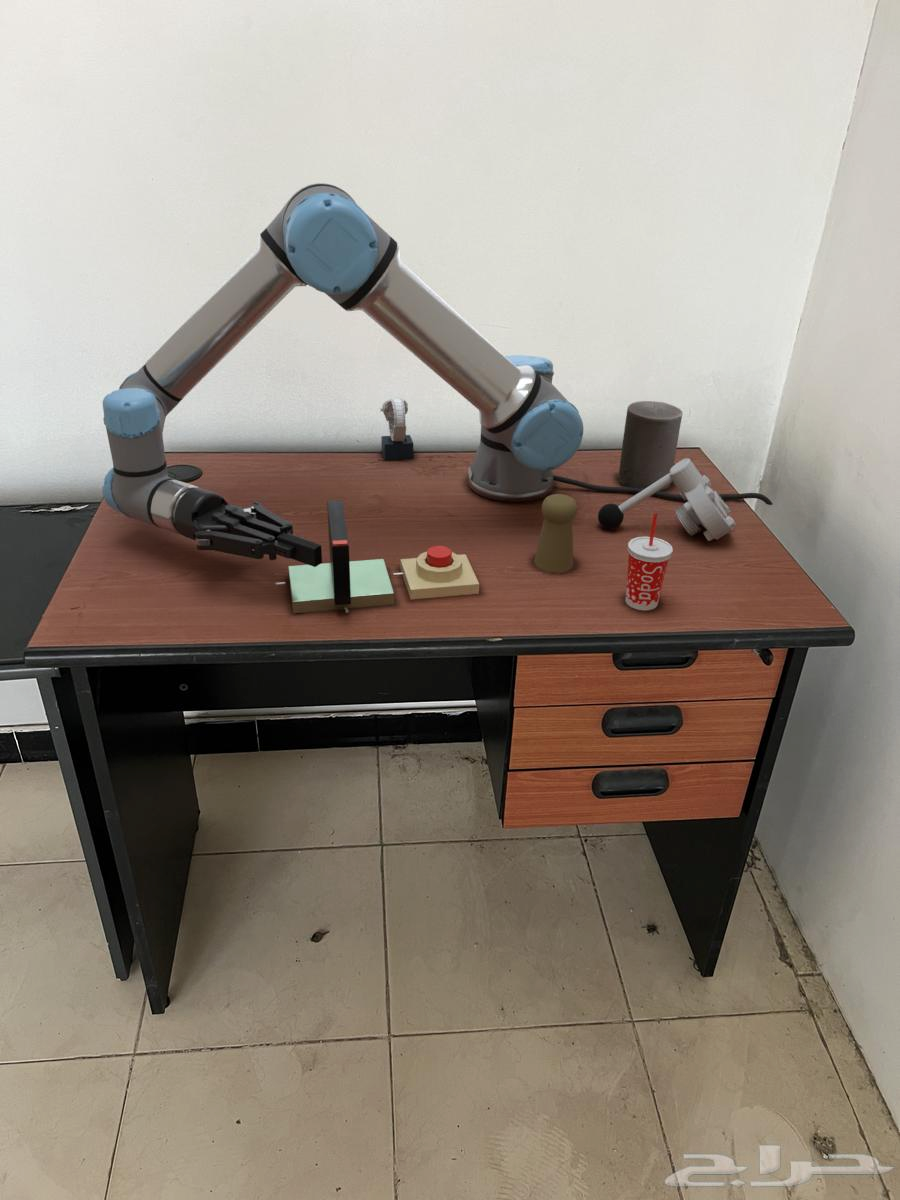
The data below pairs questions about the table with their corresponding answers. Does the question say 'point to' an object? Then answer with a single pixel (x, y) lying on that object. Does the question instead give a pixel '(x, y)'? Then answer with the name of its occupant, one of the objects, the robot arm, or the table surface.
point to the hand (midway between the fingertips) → (318, 556)
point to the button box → (438, 577)
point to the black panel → (339, 552)
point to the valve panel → (317, 587)
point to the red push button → (439, 556)
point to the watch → (396, 431)
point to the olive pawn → (556, 534)
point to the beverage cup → (646, 570)
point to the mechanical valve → (696, 511)
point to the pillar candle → (649, 443)
